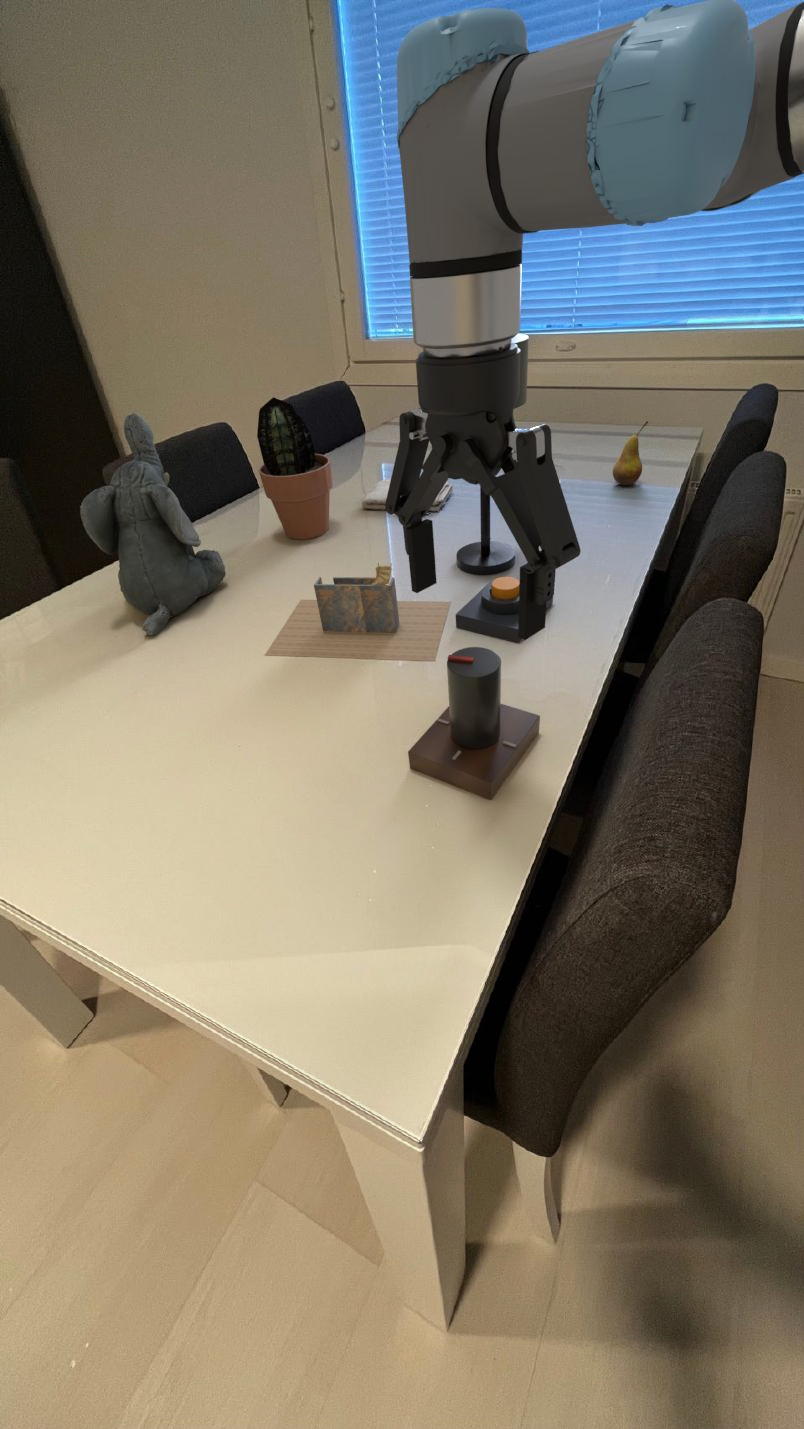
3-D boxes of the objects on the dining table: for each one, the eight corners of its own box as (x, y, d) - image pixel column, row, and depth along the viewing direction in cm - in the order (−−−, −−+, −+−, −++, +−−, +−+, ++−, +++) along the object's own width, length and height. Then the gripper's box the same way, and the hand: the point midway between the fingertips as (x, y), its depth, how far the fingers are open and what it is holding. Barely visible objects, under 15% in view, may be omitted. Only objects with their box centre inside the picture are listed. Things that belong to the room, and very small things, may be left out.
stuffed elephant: (188, 562, 116) (136, 409, 99) (251, 591, 104) (204, 422, 87) (94, 603, 106) (17, 440, 89) (151, 640, 94) (75, 460, 77)
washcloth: (442, 512, 123) (441, 497, 121) (360, 511, 128) (358, 496, 126) (454, 492, 132) (454, 477, 130) (377, 491, 137) (376, 477, 135)
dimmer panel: (539, 732, 69) (540, 714, 67) (491, 800, 62) (491, 782, 60) (462, 707, 74) (461, 690, 72) (409, 768, 66) (407, 750, 65)
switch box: (552, 604, 91) (554, 580, 89) (518, 643, 84) (519, 618, 81) (493, 591, 96) (493, 568, 93) (455, 627, 88) (454, 603, 86)
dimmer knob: (504, 720, 67) (505, 647, 61) (494, 752, 63) (494, 677, 57) (457, 714, 69) (454, 641, 63) (445, 745, 65) (440, 671, 59)
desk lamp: (532, 553, 105) (542, 332, 84) (501, 583, 98) (504, 348, 77) (471, 543, 111) (467, 333, 90) (438, 570, 103) (425, 348, 83)
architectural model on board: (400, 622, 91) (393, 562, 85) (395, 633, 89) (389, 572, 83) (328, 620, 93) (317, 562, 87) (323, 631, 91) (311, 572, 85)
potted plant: (351, 532, 120) (330, 393, 104) (287, 551, 116) (255, 409, 100) (325, 512, 130) (302, 383, 114) (265, 529, 125) (233, 397, 110)
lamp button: (524, 590, 88) (524, 579, 87) (512, 602, 85) (512, 591, 84) (499, 585, 90) (499, 574, 89) (486, 597, 87) (486, 586, 86)
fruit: (617, 478, 130) (625, 417, 122) (644, 481, 126) (653, 420, 119) (606, 486, 126) (613, 425, 119) (633, 490, 123) (642, 427, 116)
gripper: (656, 341, 37) (614, 636, 50) (393, 332, 53) (413, 559, 66) (583, 366, 33) (558, 676, 47) (323, 348, 49) (360, 584, 62)
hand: (473, 608), depth 56 cm, fingers open, 13 cm apart
